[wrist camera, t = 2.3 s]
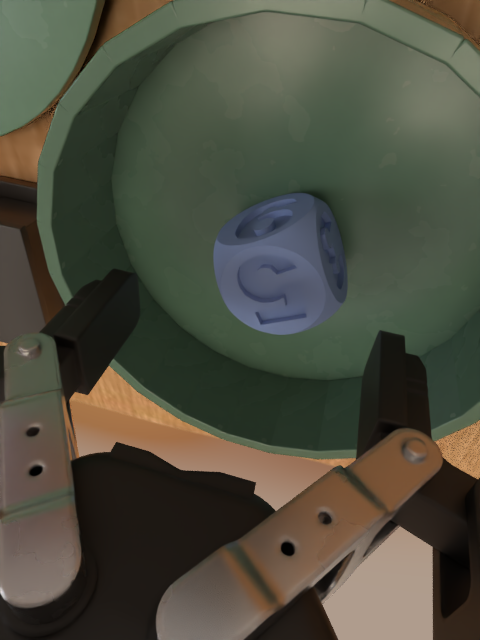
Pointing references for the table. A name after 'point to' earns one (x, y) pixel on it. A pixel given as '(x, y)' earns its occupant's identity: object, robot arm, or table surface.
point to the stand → (23, 264)
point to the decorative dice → (282, 264)
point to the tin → (268, 182)
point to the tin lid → (41, 54)
